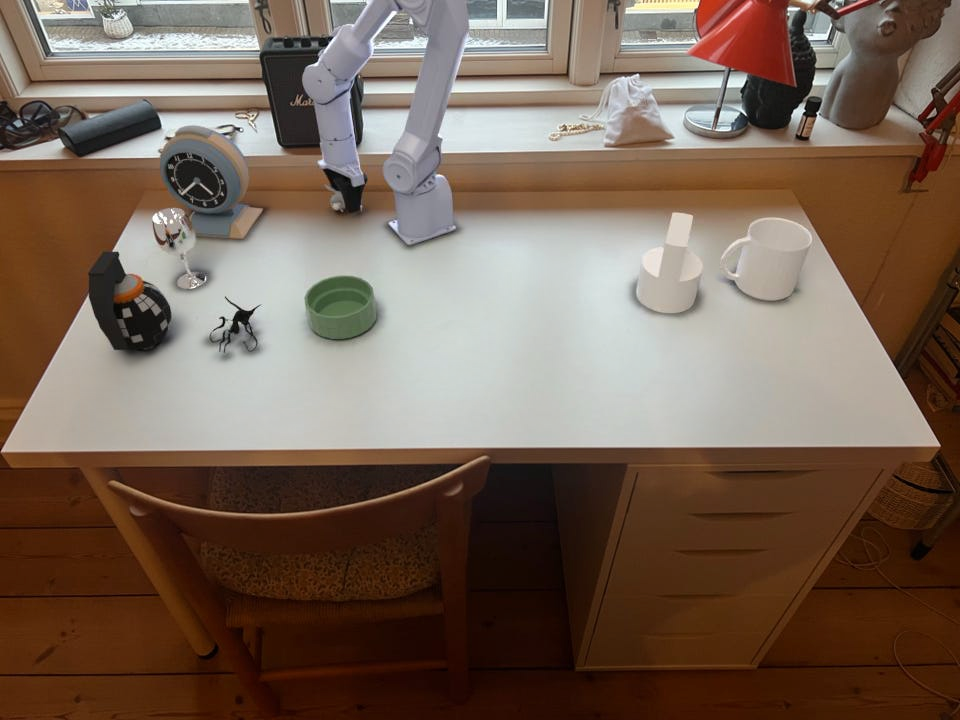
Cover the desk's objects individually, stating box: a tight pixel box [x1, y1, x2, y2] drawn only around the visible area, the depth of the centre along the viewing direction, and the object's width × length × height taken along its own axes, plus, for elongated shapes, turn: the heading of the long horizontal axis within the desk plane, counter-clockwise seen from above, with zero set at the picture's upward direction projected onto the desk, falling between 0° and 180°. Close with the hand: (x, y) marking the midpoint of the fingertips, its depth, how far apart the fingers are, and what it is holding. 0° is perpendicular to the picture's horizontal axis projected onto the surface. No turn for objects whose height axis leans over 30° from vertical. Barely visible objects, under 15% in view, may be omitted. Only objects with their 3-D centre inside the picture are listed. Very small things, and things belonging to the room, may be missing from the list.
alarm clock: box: [159, 124, 264, 240], centre depth 120 cm, size 14×10×18 cm
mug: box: [719, 217, 813, 302], centre depth 108 cm, size 12×9×9 cm
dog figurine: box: [324, 183, 364, 213], centre depth 126 cm, size 3×8×6 cm
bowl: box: [303, 274, 378, 340], centre depth 104 cm, size 10×10×4 cm
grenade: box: [87, 251, 173, 352], centre depth 96 cm, size 11×10×15 cm
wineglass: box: [151, 207, 207, 290], centre depth 109 cm, size 6×6×12 cm
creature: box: [209, 296, 263, 354], centre depth 101 cm, size 8×5×8 cm
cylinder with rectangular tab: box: [635, 211, 704, 314], centre depth 105 cm, size 9×9×12 cm
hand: (348, 204), depth 127 cm, fingers closed on dog figurine, 5 cm apart
